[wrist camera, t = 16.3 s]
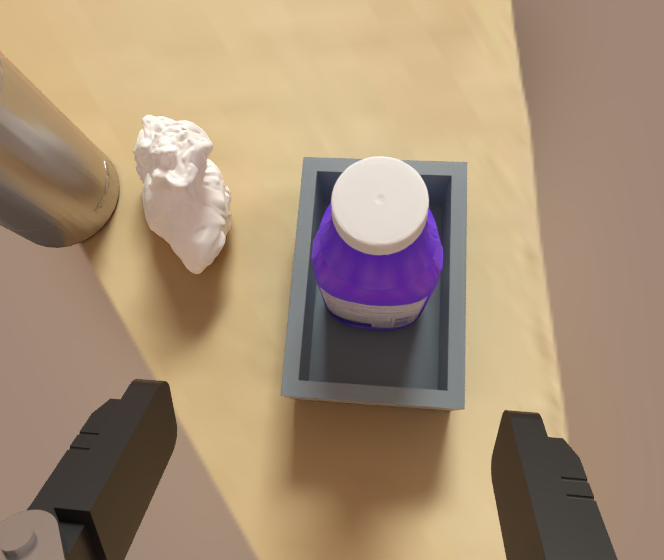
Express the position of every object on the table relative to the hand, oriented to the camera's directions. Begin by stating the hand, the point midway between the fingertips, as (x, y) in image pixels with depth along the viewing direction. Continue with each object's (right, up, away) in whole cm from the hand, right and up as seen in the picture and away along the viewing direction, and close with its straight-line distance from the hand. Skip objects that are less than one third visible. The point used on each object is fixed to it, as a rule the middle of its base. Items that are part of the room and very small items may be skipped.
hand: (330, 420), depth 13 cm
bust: (-11, +9, +30) cm, 33 cm away
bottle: (+3, +2, +26) cm, 26 cm away
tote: (+3, +2, +27) cm, 27 cm away
